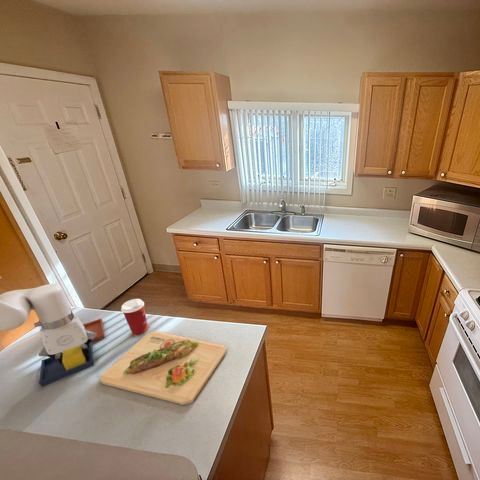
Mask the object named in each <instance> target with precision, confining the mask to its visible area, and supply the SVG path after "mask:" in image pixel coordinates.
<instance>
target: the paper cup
mask: <svg viewBox="0 0 480 480" xmlns="http://www.w3.org/2000/svg"><path fill="white" fill-rule="evenodd" d="M120 311H121V312H122V313H123V316H124V318H125V320H126V323H127V325H128V327H129V329H130V332H131V334H132V335H133V336H141V335H143V334H145V333H146V332H147V331H148V330H149V325H148V319H147V315H146V310H145V302H144V301H143V300H142V298H141V299H140V298H132V299H129V300H127V301H125V302H123V304H122V305H121V308H120Z"/></svg>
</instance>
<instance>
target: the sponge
mask: <svg viewBox="0 0 480 480" xmlns="http://www.w3.org/2000/svg"><path fill="white" fill-rule="evenodd" d="M62 353H63V357H62V363H63V365H64V366H65V368H66V370H69V369H72V368H74V367H77V366H79V365H82V364H84V363H86V358H85V356H84V354H83V352H82V347H81V346H80V345H79V346H77V347H74V348H71V349H68V350H66V351H63V352H62Z"/></svg>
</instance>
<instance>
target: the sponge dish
mask: <svg viewBox="0 0 480 480" xmlns="http://www.w3.org/2000/svg"><path fill="white" fill-rule="evenodd" d="M82 324H83V326H84V327H85V329H86V330H88V331H91V332H94V333H96V337H95V338H94V339H93V340H92V341H91V344H93V343H95V342H97V341H101V340H103V339H105V338H106V336H105V328H104V323H103V319H102V318H99V319H98V318H97V319H95V320H92V321H89V322H87V323H82ZM87 337H89V336H87Z"/></svg>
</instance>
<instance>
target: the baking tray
mask: <svg viewBox="0 0 480 480" xmlns="http://www.w3.org/2000/svg"><path fill="white" fill-rule="evenodd" d="M87 347H88V349H89V353H88V357H87V358H86V363H84V364H82V365H79V366H77V367H74V368H72V369H69V370H66V368H65V366H63V364H60V363H59V361H58V359H55V358H53V357H47V358H44V359H42V360H41V363H40V373H39V380H38V384H39V385H40V387H41V388H43V387H45V386H48V385H50V384H53V383H55V382H58V381H60V380H62V379H64V378H65V379H66V378H68V377H69V376H72V375H74V374H77V373H79V372H81V371H84V370H87V369H89V368H92V367H94V366H95V359H94V348H93V343H91V342H90V344H89V345H88V346H87Z"/></svg>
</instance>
